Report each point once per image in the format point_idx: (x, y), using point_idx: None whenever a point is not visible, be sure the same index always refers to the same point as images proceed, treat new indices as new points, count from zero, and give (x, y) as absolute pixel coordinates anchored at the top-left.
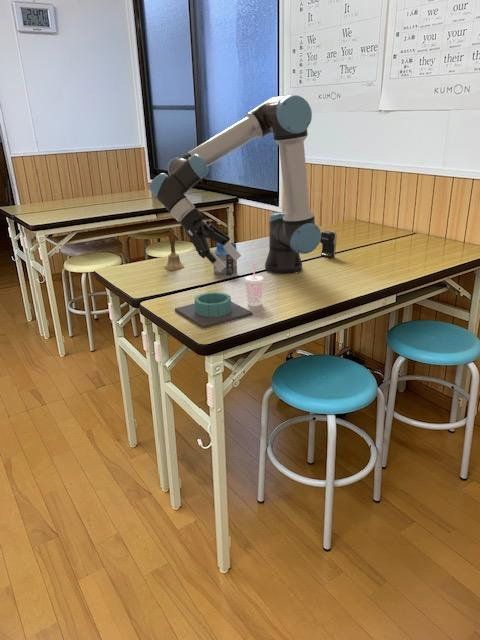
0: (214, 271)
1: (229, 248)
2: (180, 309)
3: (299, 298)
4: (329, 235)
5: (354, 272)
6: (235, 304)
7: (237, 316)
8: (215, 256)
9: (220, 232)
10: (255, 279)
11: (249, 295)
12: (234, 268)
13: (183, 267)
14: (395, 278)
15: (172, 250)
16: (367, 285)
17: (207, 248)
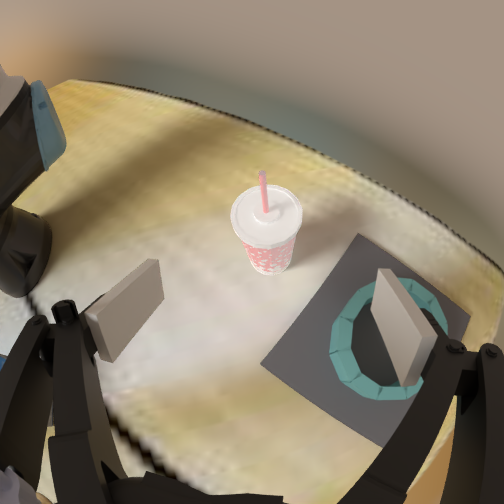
0: (48, 424)
1: (124, 314)
2: None
3: (207, 170)
4: None
5: (69, 142)
6: (318, 296)
7: (397, 260)
8: (419, 310)
9: (23, 369)
10: (278, 205)
11: (291, 250)
12: None
13: (41, 495)
14: (108, 98)
15: None
16: (132, 109)
17: (456, 362)
